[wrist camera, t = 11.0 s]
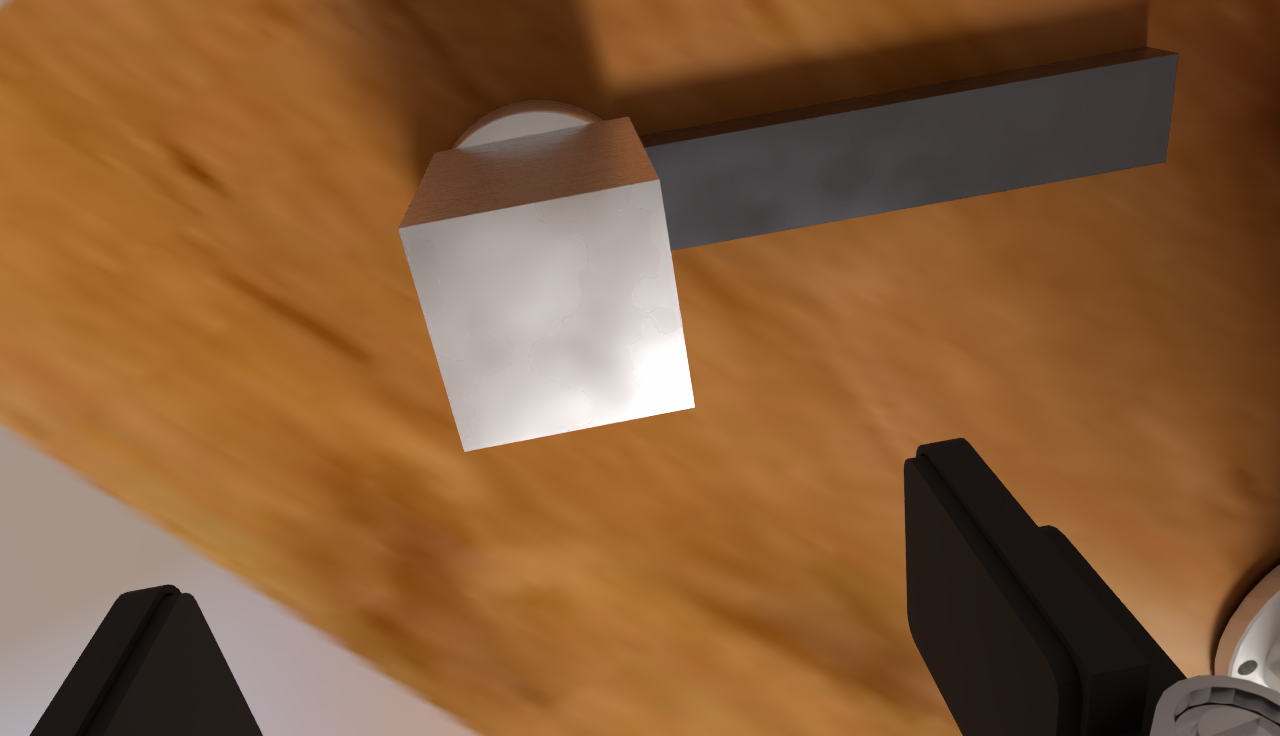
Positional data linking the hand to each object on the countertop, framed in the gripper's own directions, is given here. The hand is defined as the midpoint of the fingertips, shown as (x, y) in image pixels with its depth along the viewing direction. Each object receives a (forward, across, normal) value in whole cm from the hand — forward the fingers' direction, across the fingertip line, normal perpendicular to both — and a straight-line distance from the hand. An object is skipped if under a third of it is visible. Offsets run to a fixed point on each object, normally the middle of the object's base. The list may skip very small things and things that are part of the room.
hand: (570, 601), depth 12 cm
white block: (+16, 0, 0) cm, 16 cm away
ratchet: (+18, -8, 0) cm, 20 cm away
